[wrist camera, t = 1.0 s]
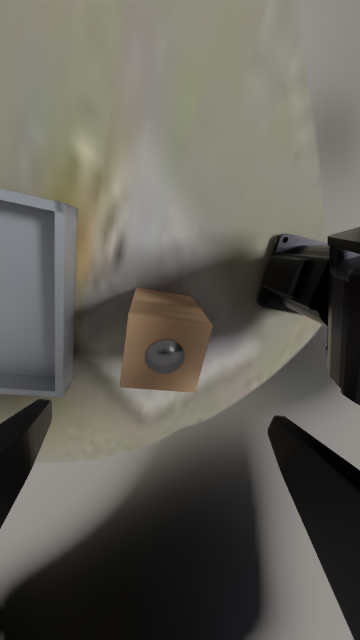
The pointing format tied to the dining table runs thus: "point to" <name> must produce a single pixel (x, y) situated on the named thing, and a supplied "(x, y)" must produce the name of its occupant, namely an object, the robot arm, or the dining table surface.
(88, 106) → the dining table surface
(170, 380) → the wooden block with knob
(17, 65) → the dining table surface
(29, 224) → the tray
